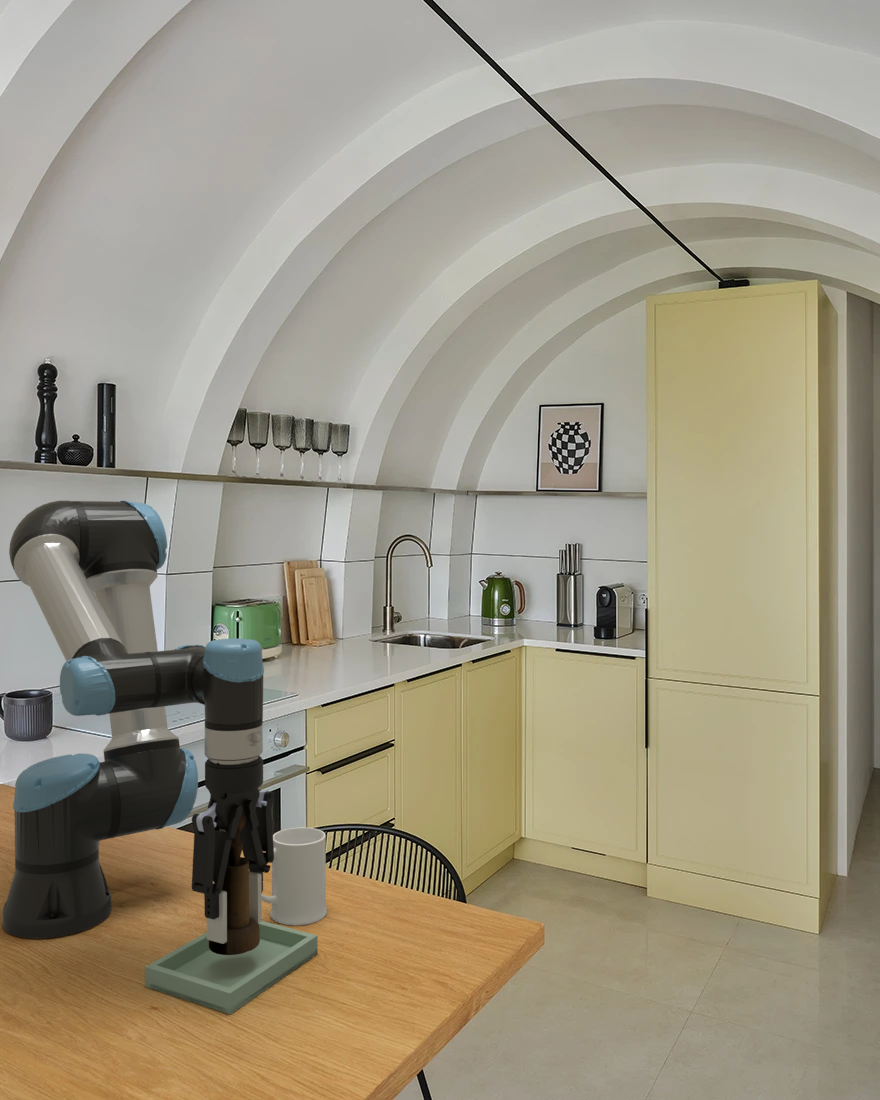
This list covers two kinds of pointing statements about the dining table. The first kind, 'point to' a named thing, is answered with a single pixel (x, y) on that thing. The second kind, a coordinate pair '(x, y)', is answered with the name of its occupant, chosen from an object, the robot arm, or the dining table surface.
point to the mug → (298, 876)
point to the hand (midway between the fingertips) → (234, 929)
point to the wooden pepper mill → (237, 903)
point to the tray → (230, 968)
